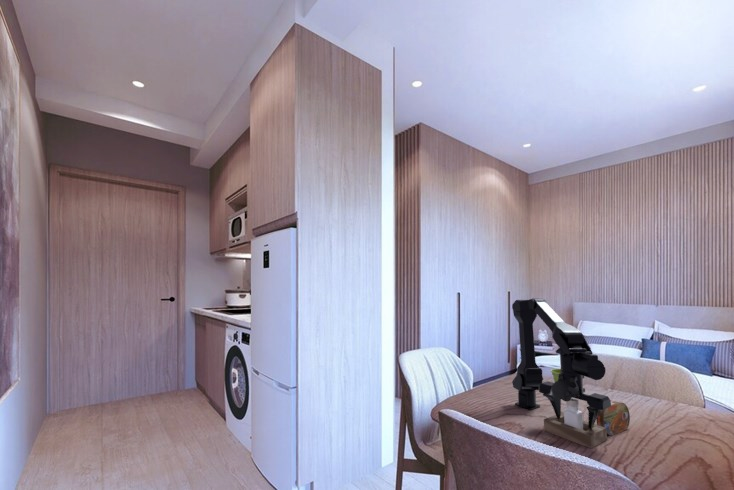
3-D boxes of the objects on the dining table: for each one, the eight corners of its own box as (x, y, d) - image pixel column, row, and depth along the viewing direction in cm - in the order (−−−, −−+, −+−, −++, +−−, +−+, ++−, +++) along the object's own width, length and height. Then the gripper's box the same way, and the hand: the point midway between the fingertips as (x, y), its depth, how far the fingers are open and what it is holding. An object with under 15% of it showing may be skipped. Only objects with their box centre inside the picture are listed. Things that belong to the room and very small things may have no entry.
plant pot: (556, 395, 140) (555, 373, 141) (548, 388, 149) (547, 368, 150) (581, 396, 138) (579, 374, 139) (571, 389, 147) (570, 369, 148)
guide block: (560, 423, 111) (560, 413, 111) (607, 439, 100) (606, 427, 100) (544, 430, 105) (543, 419, 106) (591, 448, 94) (590, 435, 95)
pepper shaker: (563, 430, 103) (562, 398, 104) (570, 427, 105) (568, 396, 107) (577, 435, 100) (575, 402, 101) (584, 432, 102) (582, 400, 103)
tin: (605, 438, 101) (603, 408, 102) (594, 433, 104) (593, 405, 105) (631, 428, 108) (629, 401, 109) (620, 424, 111) (618, 398, 112)
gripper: (528, 367, 108) (530, 418, 106) (592, 382, 93) (595, 442, 91) (546, 363, 114) (549, 411, 112) (609, 376, 99) (613, 432, 97)
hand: (574, 423), depth 103 cm, fingers open, 9 cm apart
